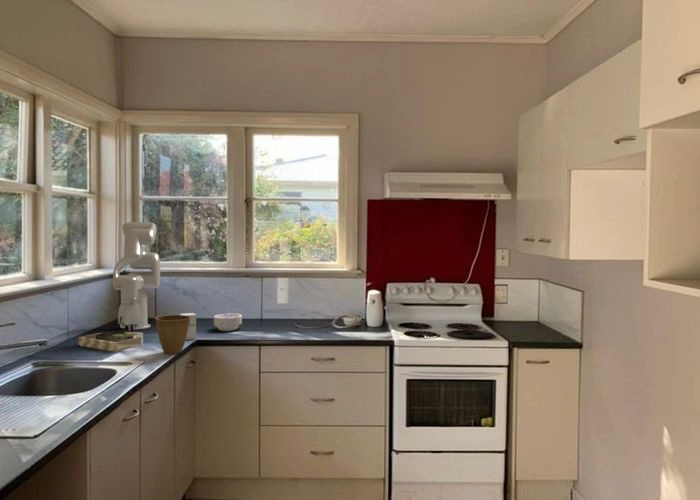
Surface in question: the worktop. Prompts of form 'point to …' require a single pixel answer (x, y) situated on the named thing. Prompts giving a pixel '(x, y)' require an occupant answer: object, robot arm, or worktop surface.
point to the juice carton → (118, 336)
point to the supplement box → (191, 326)
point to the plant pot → (172, 332)
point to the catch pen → (108, 343)
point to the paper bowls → (227, 321)
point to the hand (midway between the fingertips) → (130, 338)
